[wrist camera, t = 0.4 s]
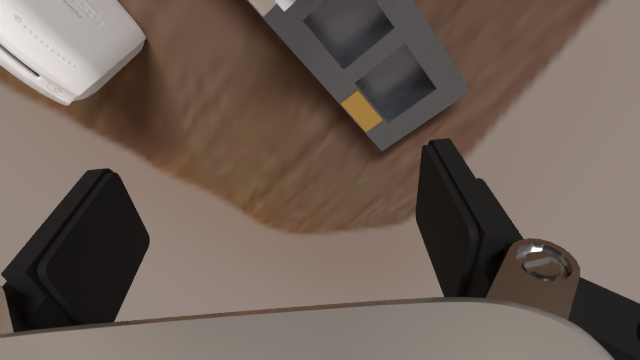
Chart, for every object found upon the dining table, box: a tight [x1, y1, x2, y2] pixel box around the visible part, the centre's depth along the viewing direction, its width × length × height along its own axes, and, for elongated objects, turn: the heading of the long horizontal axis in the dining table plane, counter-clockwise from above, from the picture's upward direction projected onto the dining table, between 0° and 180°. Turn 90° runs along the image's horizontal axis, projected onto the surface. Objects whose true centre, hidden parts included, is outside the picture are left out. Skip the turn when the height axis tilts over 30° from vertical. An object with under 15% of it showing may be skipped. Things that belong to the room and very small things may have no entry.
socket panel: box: [247, 0, 471, 151], centre depth 31 cm, size 10×24×4 cm, turn 40°
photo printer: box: [0, 0, 146, 106], centre depth 27 cm, size 10×4×12 cm, turn 32°
